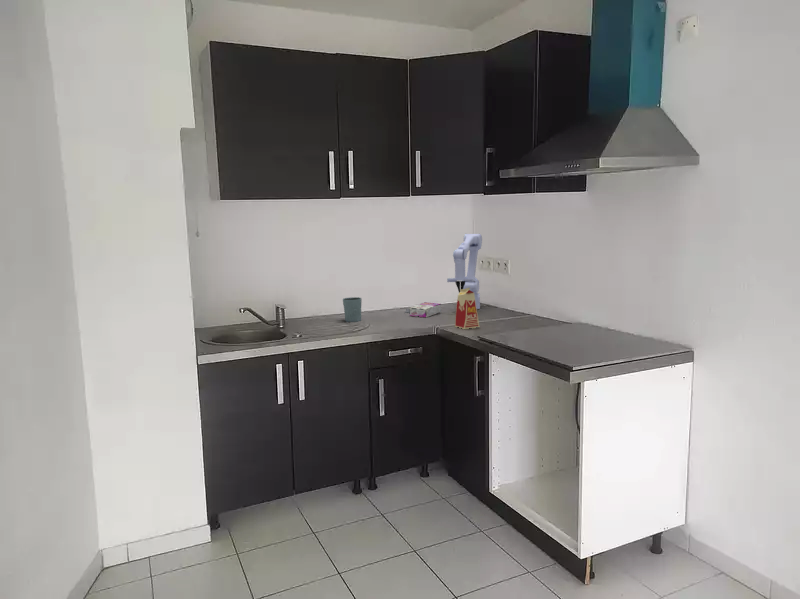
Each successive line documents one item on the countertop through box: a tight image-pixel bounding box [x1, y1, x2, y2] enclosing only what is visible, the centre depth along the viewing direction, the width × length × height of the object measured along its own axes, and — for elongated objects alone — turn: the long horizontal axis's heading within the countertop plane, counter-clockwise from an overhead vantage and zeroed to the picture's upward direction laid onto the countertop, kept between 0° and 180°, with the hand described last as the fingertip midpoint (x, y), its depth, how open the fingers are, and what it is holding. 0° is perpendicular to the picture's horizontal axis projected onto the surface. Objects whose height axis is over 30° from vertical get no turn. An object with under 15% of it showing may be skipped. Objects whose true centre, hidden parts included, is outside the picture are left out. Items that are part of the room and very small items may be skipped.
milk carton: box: [454, 288, 480, 330], centre depth 288 cm, size 9×9×20 cm
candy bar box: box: [408, 301, 442, 318], centre depth 327 cm, size 11×5×16 cm
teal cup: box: [342, 296, 362, 323], centre depth 314 cm, size 10×10×12 cm
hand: (460, 294), depth 328 cm, fingers closed
